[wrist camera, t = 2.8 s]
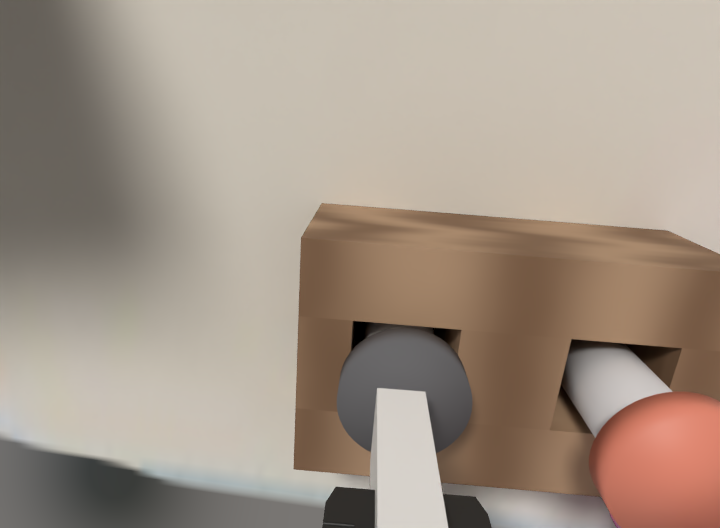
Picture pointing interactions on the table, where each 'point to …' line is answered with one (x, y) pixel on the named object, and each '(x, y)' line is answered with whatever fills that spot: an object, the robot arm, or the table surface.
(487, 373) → the walnut block
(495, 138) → the table surface
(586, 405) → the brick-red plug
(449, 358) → the black plug
